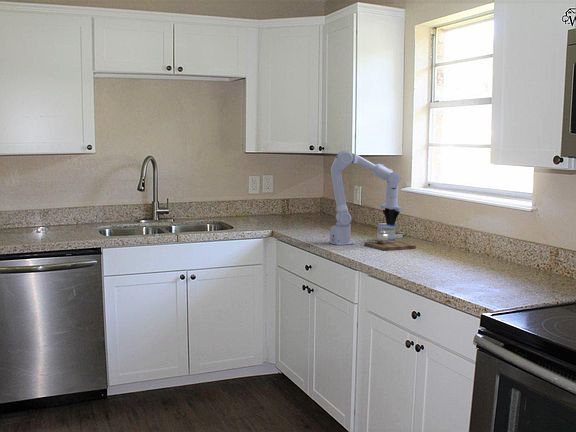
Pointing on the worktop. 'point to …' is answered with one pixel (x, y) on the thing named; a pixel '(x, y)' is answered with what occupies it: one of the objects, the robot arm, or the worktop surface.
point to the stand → (390, 245)
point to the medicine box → (386, 229)
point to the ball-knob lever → (383, 237)
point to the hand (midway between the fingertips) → (390, 224)
